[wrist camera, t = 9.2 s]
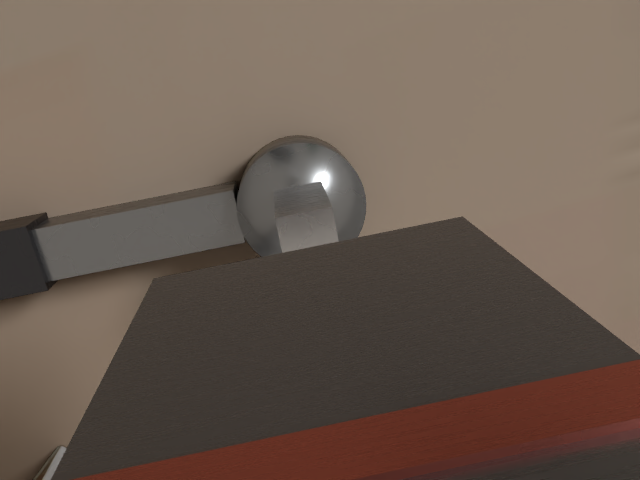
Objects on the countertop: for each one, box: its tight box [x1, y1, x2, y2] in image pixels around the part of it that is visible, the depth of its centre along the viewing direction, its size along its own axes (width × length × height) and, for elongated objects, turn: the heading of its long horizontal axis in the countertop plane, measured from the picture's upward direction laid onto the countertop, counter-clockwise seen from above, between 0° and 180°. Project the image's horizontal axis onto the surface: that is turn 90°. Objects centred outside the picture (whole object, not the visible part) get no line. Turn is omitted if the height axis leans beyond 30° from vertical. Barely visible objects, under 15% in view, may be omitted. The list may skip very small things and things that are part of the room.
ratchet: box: [0, 135, 366, 300], centre depth 26 cm, size 22×6×8 cm, turn 100°
